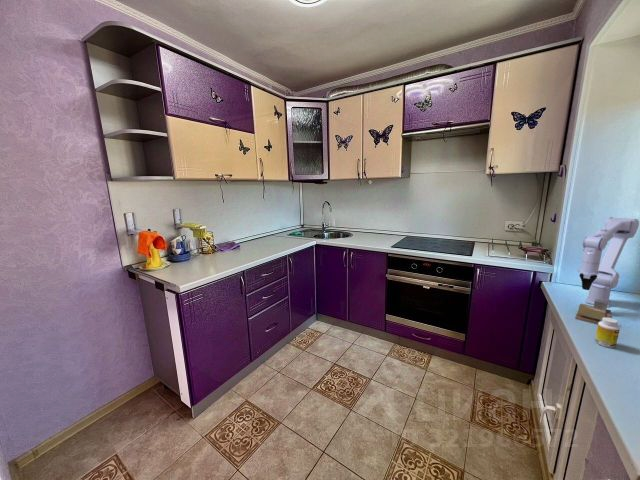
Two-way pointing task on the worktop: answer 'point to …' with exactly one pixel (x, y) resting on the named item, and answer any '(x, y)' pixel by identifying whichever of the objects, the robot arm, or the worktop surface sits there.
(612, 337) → the supplement bottle
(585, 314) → the divider leg
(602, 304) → the grey piece
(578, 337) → the worktop surface
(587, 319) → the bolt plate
